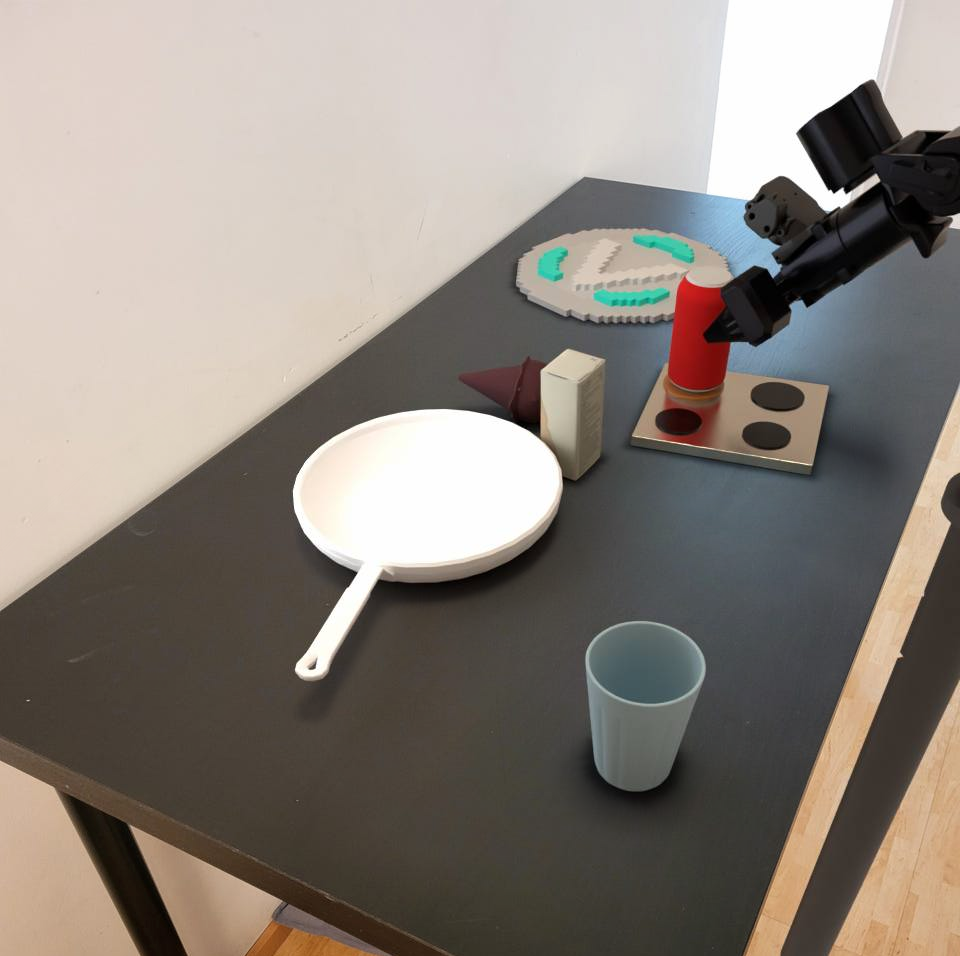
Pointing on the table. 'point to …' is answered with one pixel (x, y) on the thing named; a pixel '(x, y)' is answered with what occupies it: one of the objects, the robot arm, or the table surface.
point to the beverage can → (698, 331)
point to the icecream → (511, 388)
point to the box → (573, 410)
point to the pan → (421, 505)
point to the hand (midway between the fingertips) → (729, 321)
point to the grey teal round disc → (612, 273)
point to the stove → (737, 421)
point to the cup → (640, 700)
